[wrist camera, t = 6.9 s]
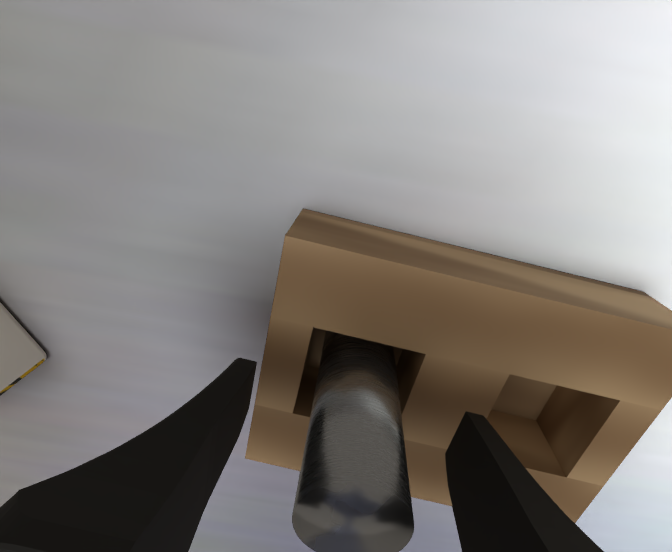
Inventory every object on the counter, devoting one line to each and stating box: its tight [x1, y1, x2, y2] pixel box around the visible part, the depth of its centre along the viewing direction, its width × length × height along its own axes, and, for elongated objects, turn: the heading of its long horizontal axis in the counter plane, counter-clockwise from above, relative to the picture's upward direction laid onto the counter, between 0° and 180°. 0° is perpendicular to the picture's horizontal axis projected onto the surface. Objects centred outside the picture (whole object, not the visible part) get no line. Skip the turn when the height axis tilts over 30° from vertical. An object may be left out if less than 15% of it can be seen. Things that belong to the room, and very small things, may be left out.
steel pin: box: [292, 331, 414, 552], centre depth 13 cm, size 3×3×8 cm
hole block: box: [245, 209, 672, 523], centre depth 16 cm, size 10×14×4 cm
